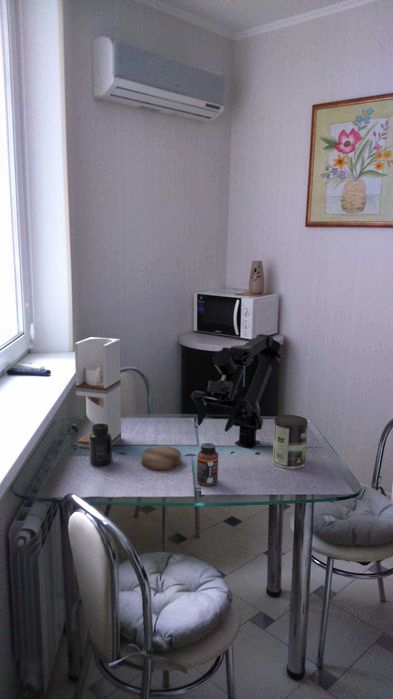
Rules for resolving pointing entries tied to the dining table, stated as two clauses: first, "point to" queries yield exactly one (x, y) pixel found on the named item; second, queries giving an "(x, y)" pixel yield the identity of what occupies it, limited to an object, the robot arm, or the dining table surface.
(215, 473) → the supplement bottle
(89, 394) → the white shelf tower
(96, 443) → the supplement bottle
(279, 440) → the coffee can
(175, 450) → the walnut stand
